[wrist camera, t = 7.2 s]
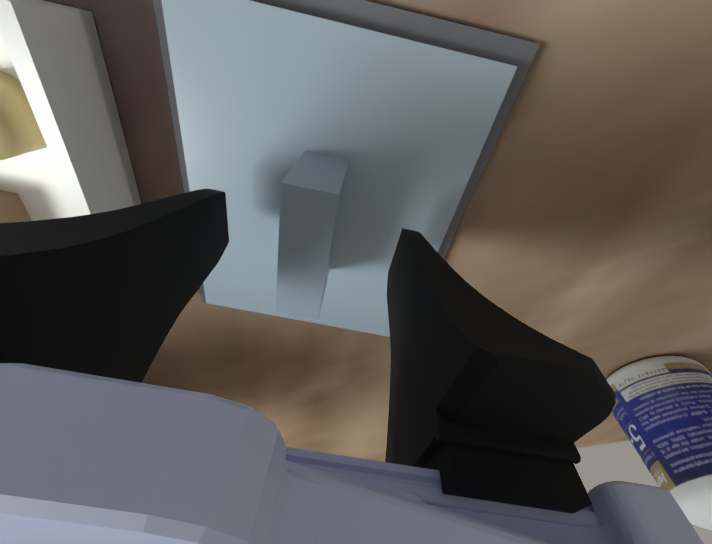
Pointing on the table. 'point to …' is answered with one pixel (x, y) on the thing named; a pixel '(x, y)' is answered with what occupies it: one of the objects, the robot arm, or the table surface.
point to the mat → (350, 7)
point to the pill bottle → (670, 427)
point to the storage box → (58, 117)
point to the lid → (322, 150)
